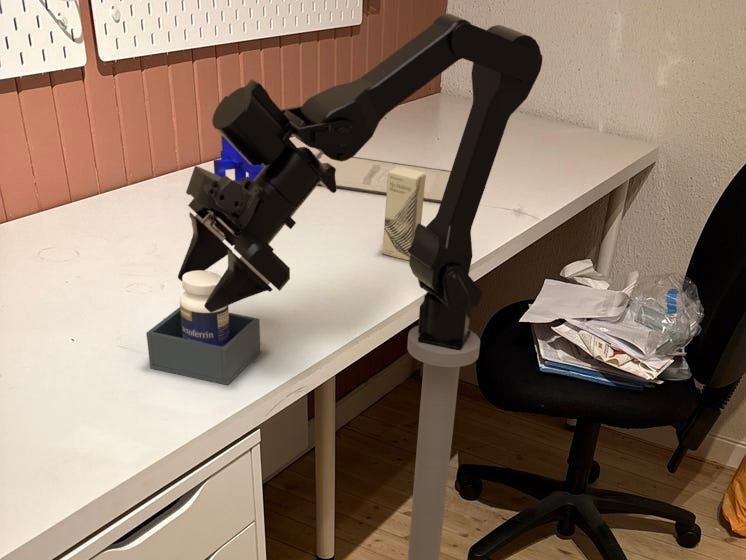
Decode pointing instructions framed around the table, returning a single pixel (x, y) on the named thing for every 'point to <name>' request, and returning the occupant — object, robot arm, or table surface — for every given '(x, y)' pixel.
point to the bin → (204, 349)
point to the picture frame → (382, 176)
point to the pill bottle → (202, 310)
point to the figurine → (235, 163)
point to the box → (402, 210)
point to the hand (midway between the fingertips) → (193, 294)
